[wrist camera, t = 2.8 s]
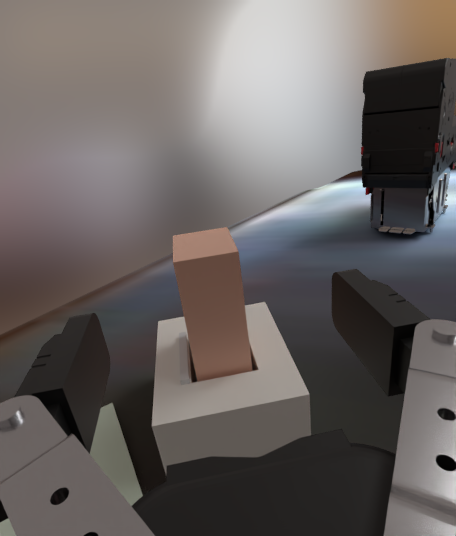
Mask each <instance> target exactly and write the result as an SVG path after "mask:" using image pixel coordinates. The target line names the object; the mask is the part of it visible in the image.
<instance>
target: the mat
mask: <svg viewBox="0 0 456 536" xmlns="http://www.w3.org/2000/svg"><path fill="white" fill-rule="evenodd" d="M90 455H91V456H92V458H93V459H94V460H95V461H96V463H97V464H98V465H99V466H100V468H101V469H102V470H103V471H104V473H105V474H106V475H107V476H108V478H109V479H110V480H111V481H112V483H113V484H114V485H115V486H116V488H117V489H118V490H119V491H120V493H121V494H122V495H123V496H124V498H125V499H126V500H127V501H128V503H129V504H130V505H131V506H132V505H133V504H134V503H135V502H136V501H137V500H138V499H140V498H141V497H142V496H143V495H142V492H141V489H140V486H139V482H138V479H137V476H136V473H135V470H134V467H133V464H132V461H131V458H130V455H129V452H128V449H127V446H126V443H125V439H124V436H123V433H122V430H121V427H120V424H119V421H118V418H117V415H116V412H115V409H114V406H113V403H111V404H108V405H106V406H104V407H102V408H101V409H100V414H99V418H98V422H97V426H96V430H95V434H94V438H93V442H92V447H91V451H90ZM0 536H16V534H15V532H14V529H13V527H12V525H11V523H10V520H9V518H8V519H6V520H4V521H2V522H0Z"/></svg>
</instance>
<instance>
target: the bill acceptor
mask: <svg viewBox="0 0 456 536" xmlns="http://www.w3.org/2000/svg"><path fill="white" fill-rule="evenodd" d="M363 93H364V94H365V102H364V108H363V115H362V117H363V118H362V146H363V147H361V154H362V155H363V156H362V158H361V166H362V183H363V187H366V195H368V194H370V193H371V213H370V222H371V228H379V232H387V231H388V230H389V232H390V233H401V232H402V231H404V232H403V234H413V233H414V232H425V231H426V229H427V228H430V232H431V233H432V231H433V228H434V226H435V225H434V223H435V221H436V220H437V218H438V217H439V215H440V214H441V212H442V211H443V213H445V211H446V209H447V207H448V205H445V201H447V199H446V197H447V196H448V194H447V189H448V184H449V178H450V171H451V169H453V168H454V163H455V162H456V116H454V108H455V101H456V59H450V58H444V59H439V60H433V61H427V62H422V63H415V64H409V65H403V66H398V67H392V68H386V69H381V70H374V71H368V72H366V74H365V77H364V80H363Z"/></svg>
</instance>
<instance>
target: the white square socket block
mask: <svg viewBox="0 0 456 536" xmlns="http://www.w3.org/2000/svg"><path fill="white" fill-rule="evenodd" d="M245 311H246V320H247V328H248V337H249V345H250V354H251V362H252V371H251V372H245V373H240V374H235V375H230V376H225V377H220V378H215V379H210V380H205V381H199V382H197V377H196V372H195V367H194V362H193V357H192V352H191V348H190V343H189V338H188V333H187V328H186V323H185V318H184V317H180V318H174V319H168V320H163V321H158V335H157V351H156V366H155V382H154V398H153V414H152V429H153V432H154V436H155V439H156V443H157V446H158V450H159V453H160V456H161V460H162V463H163V467H164V470H165V474H166V469H167V465H172V464H177V463H182V462H186V461H191V460H196V459H201V458H205V457H210V456H218V457H260V456H263V455H265V454H267V453H269V452H271V451H273V450H276V449H278V448H280V447H282V446H284V445H286V444H288V443H290V442H292V441H294V440H296V439H298V438H301V437H306V436H310V435H311V421H310V394H309V392H308V390H307V388H306V386H305V384H304V382H303V380H302V377H301V375H300V373H299V371H298V369H297V367H296V365H295V363H294V361H293V359H292V357H291V355H290V353H289V351H288V349H287V347H286V344H285V342H284V340H283V338H282V336H281V334H280V332H279V330H278V328H277V326H276V324H275V322H274V320H273V318H272V316H271V313H270V311H269V309H268V307H267V305H266V303H265V302H263V303H257V304H252V305H246V306H245Z"/></svg>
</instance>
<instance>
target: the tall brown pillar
mask: <svg viewBox="0 0 456 536" xmlns="http://www.w3.org/2000/svg"><path fill="white" fill-rule="evenodd" d="M173 264H174V269H175V274H176V279H177V283H178V288H179V293H180V298H181V303H182V308H183V313H184V318H185V323H186V328H187V333H188V338H189V343H190V348H191V352H192V357H193V362H194V367H195V372H196V377H197V382H199V381H205V380H210V379H215V378H220V377H225V376H230V375H235V374H240V373H245V372H251V371H252V362H251V354H250V345H249V337H248V328H247V320H246V311H245V303H244V294H243V286H242V277H241V269H240V260H239V252H238V249H237V247H236V245H235V243H234V241H233V239H232V237H231V235H230V232H229V230H228V228H227V227H225V228H219V229H212V230H206V231H200V232H194V233H187V234H181V235H175V236H173Z"/></svg>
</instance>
